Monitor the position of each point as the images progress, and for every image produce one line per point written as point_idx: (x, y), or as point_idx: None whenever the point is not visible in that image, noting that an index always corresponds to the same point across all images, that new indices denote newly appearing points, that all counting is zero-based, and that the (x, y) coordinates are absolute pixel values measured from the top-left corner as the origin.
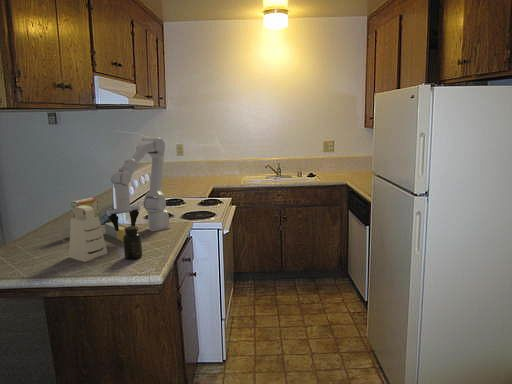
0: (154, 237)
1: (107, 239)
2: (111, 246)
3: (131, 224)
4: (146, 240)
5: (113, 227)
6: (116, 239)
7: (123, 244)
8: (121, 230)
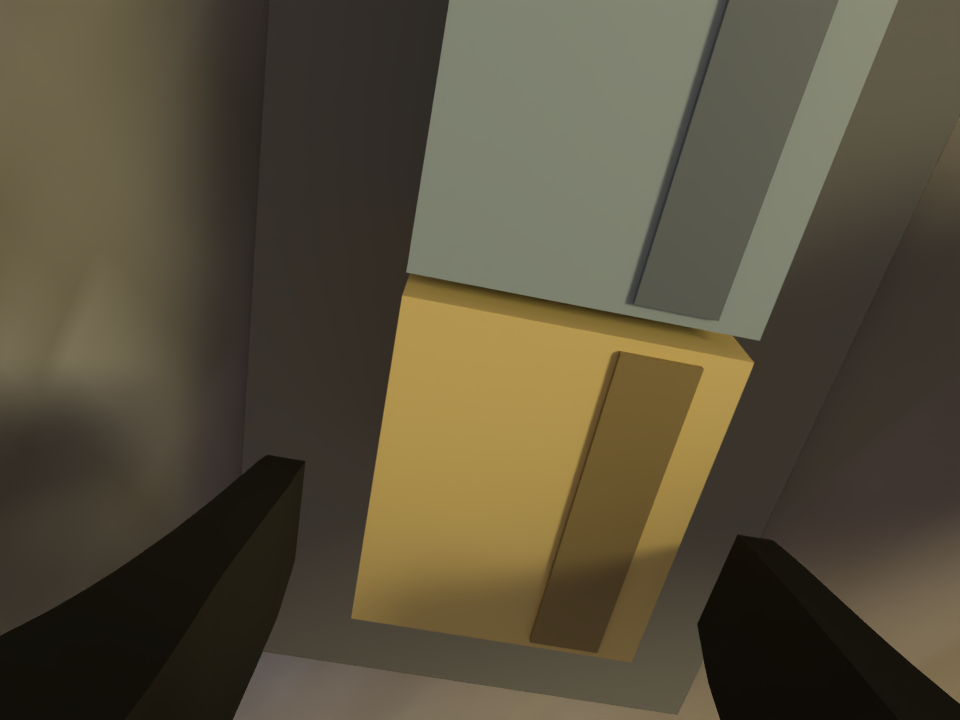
0: (866, 621)
1: (275, 44)
2: (151, 456)
3: (762, 591)
4: (646, 680)
5: (438, 81)
6: (403, 233)
7: (310, 573)
8: (355, 598)
